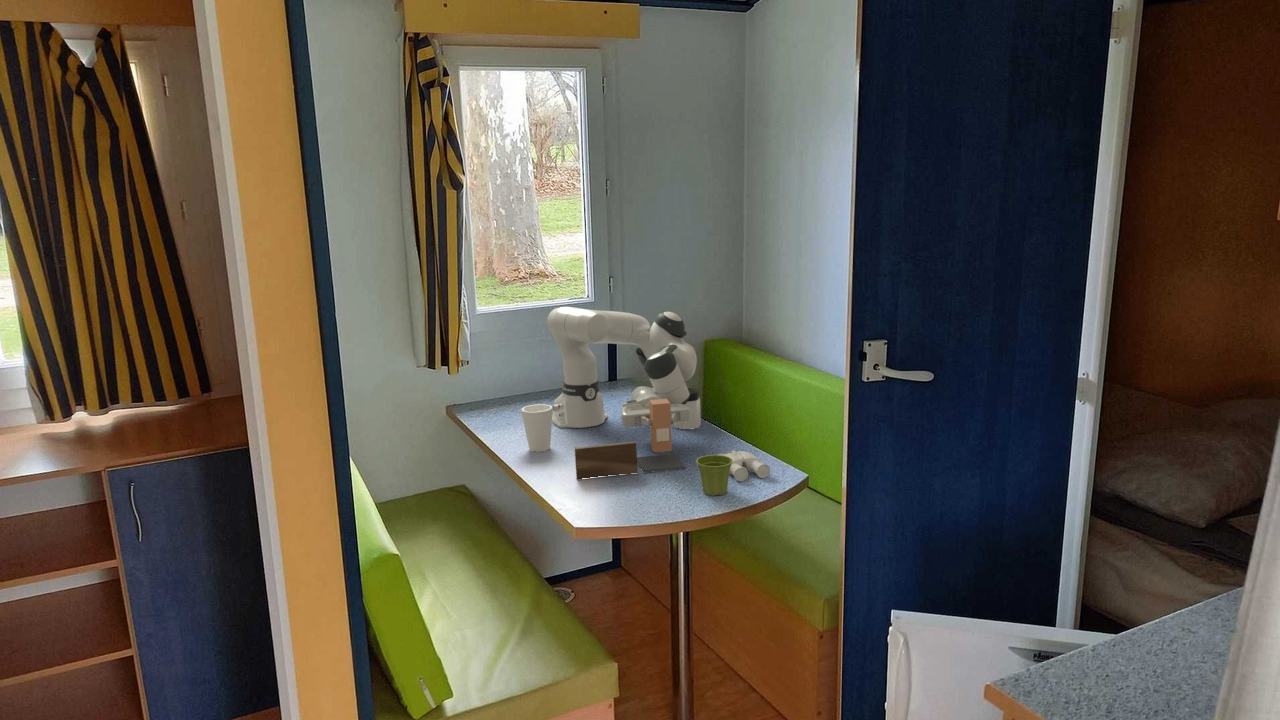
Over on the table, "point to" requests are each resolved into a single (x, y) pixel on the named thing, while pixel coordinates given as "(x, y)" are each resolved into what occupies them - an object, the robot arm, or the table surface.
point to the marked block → (660, 425)
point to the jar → (695, 411)
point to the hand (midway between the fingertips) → (660, 422)
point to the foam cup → (538, 426)
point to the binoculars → (746, 465)
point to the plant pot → (714, 473)
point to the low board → (606, 460)
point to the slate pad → (660, 462)
